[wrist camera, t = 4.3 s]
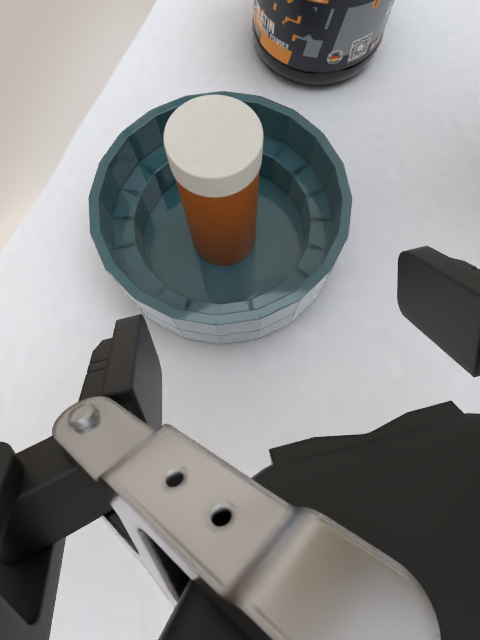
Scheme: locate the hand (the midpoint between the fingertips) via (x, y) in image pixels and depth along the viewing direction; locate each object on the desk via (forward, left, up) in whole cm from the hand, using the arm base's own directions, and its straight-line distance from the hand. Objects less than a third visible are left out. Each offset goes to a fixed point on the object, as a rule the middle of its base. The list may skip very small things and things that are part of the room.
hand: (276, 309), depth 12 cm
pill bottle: (-5, -8, -13) cm, 17 cm away
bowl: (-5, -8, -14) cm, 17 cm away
